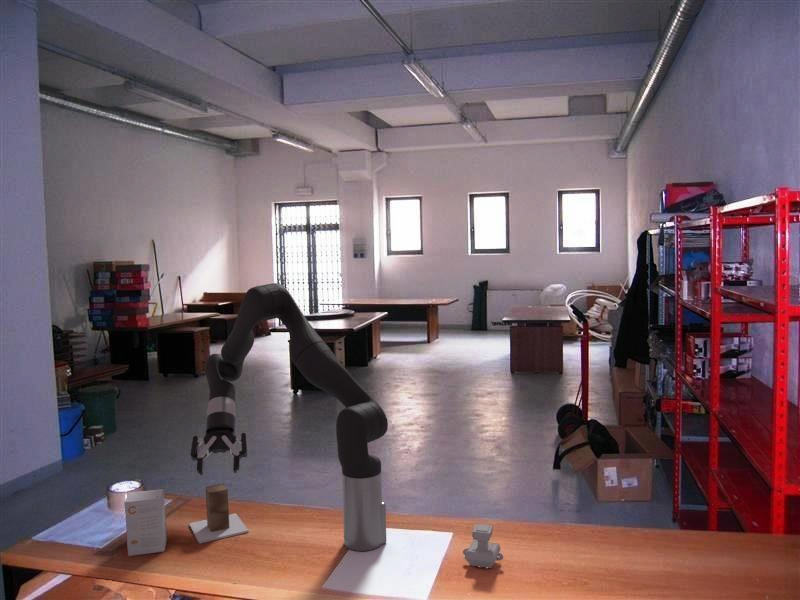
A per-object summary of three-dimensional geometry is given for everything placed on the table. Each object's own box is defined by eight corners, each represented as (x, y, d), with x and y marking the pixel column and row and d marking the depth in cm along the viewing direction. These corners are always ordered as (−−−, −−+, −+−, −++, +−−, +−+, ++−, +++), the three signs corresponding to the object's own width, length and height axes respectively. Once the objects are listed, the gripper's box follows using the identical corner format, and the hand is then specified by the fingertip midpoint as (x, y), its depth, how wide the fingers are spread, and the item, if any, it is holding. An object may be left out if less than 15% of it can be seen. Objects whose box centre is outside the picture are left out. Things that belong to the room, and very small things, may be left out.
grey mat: (235, 515, 173) (235, 513, 173) (248, 532, 163) (248, 530, 163) (189, 525, 167) (188, 523, 167) (199, 543, 157) (199, 541, 157)
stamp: (505, 560, 146) (505, 523, 145) (500, 574, 140) (500, 536, 139) (466, 554, 149) (465, 518, 148) (459, 568, 142) (458, 531, 142)
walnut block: (225, 521, 168) (223, 483, 167) (229, 528, 164) (227, 489, 163) (207, 525, 166) (205, 486, 165) (211, 532, 162) (209, 492, 161)
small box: (167, 540, 159) (164, 488, 158) (164, 552, 153) (161, 498, 152) (131, 544, 157) (128, 492, 156) (127, 557, 151) (124, 502, 150)
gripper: (192, 412, 176) (187, 468, 165) (246, 408, 178) (245, 464, 168) (196, 426, 181) (191, 481, 171) (248, 422, 184) (247, 477, 173)
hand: (218, 472), depth 169 cm, fingers open, 8 cm apart
